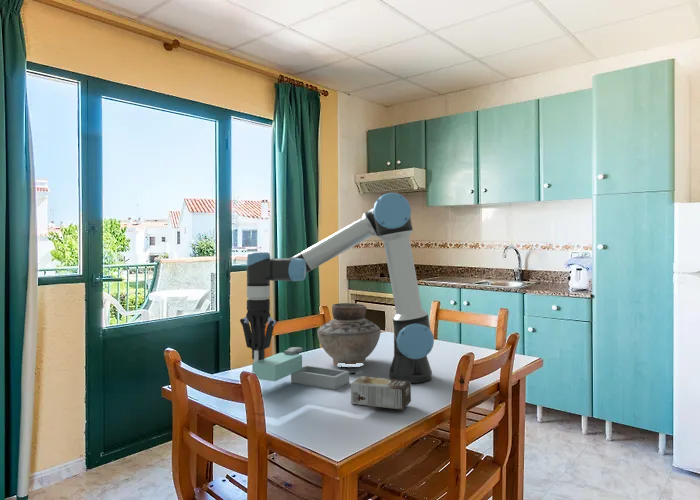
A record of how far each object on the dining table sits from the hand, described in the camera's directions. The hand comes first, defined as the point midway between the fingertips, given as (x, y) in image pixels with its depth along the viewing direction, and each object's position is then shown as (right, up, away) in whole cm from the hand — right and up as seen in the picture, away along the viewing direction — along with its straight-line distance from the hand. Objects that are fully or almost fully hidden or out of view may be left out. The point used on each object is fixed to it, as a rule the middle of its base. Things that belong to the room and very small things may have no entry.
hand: (258, 369), depth 159 cm
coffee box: (+32, -3, -14) cm, 35 cm away
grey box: (+19, -6, +6) cm, 21 cm away
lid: (+8, -1, +3) cm, 8 cm away
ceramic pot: (+30, -6, +30) cm, 43 cm away
